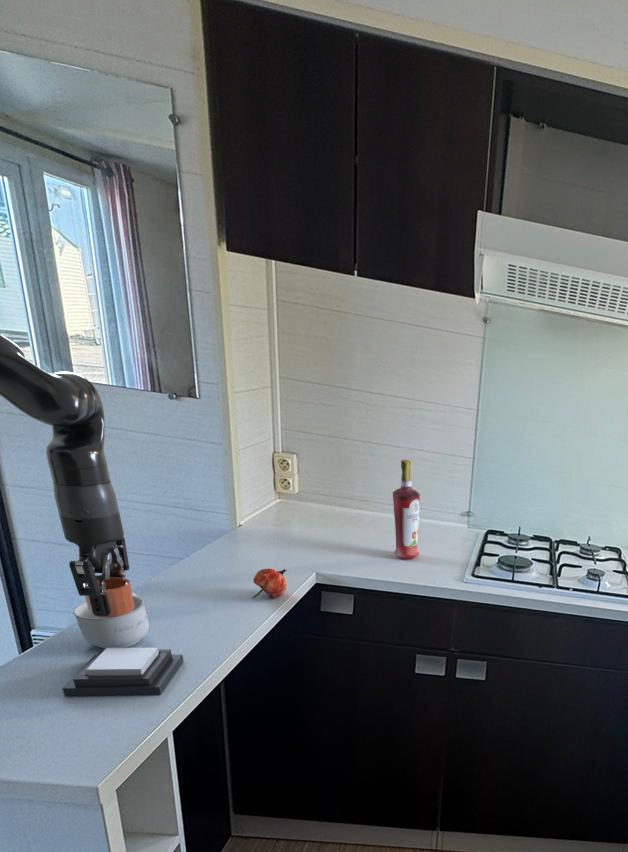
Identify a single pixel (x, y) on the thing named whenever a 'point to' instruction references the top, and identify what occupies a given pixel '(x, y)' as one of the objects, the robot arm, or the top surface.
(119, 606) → the orange cup
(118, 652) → the pale square tile
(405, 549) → the liquor
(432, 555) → the top surface
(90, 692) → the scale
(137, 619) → the teacup
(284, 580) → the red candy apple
